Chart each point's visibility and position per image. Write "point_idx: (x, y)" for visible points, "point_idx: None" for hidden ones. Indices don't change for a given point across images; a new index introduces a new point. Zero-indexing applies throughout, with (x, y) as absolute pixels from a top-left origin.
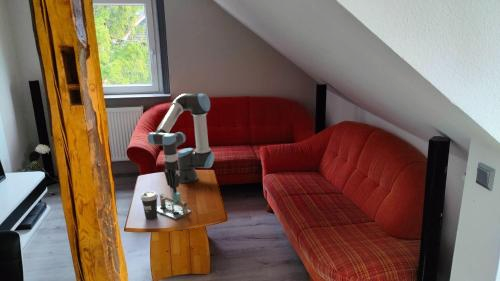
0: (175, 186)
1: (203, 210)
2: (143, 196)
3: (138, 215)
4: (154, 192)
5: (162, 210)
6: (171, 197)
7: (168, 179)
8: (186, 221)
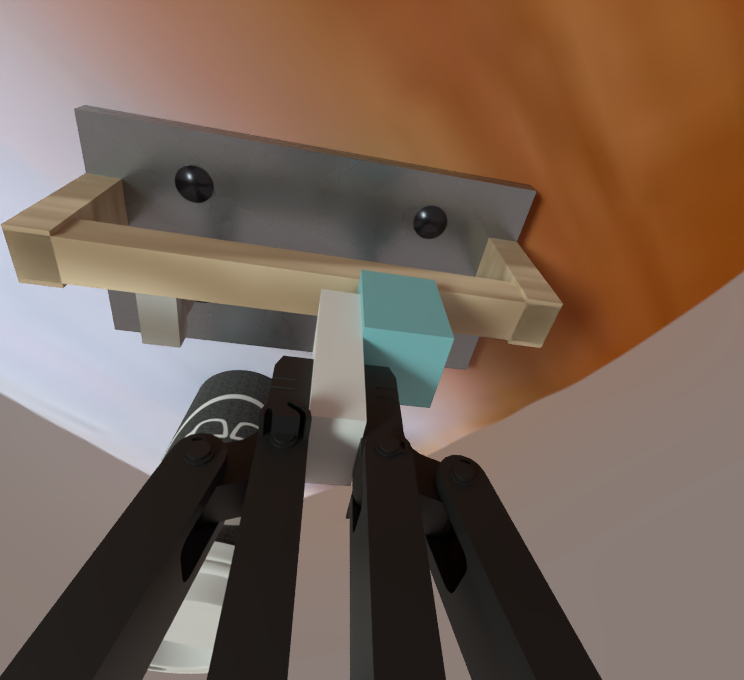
0: (457, 547)
1: (665, 69)
2: (187, 673)
3: (122, 420)
4: (195, 607)
5: (239, 313)
6: (247, 270)
7: (152, 643)
8: (559, 340)
